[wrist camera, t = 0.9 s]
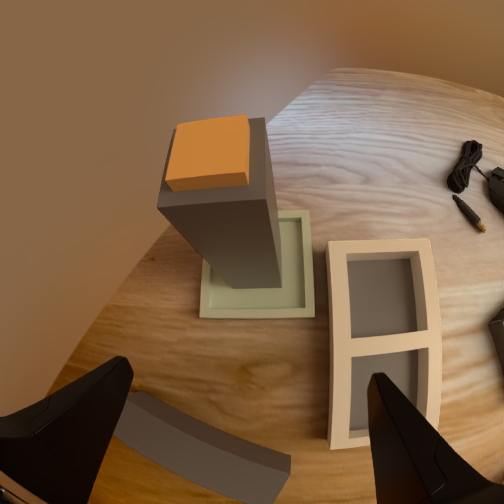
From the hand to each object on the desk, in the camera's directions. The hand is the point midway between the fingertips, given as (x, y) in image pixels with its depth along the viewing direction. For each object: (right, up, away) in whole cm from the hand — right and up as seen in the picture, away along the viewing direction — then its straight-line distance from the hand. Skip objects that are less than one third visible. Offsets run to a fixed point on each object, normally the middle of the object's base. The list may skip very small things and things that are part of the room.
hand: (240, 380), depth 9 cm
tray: (+1, +3, +15) cm, 15 cm away
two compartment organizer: (+11, -3, +11) cm, 16 cm away
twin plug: (-4, -12, +10) cm, 16 cm away
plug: (+1, +3, +14) cm, 15 cm away
